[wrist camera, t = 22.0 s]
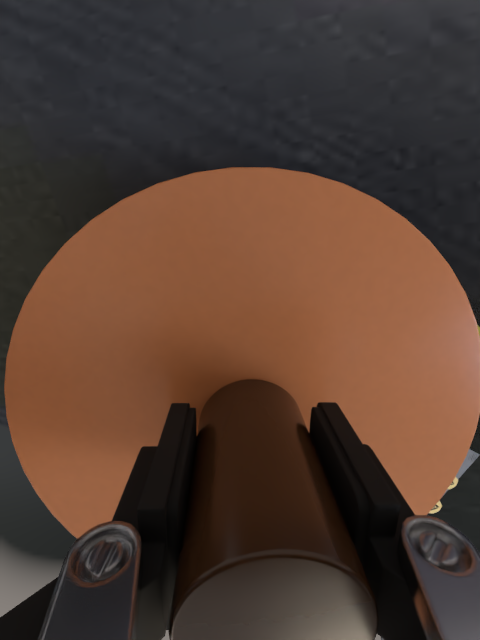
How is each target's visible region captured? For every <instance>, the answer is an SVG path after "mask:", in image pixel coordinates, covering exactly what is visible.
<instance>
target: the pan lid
mask: <svg viewBox="0 0 480 640" xmlns="http://www.w3.org/2000/svg"><path fill="white" fill-rule="evenodd" d="M4 390H5V403H6V415H7V420H8V425H9V429H10V433H11V437H12V441H13V445H14V448H15V450H16V453H17V455H18V458H19V460H20V463H21V466H22V468H23V470H24V472H25V474H26V475H27V477H28V479H29V481H30V483H31V485H32V486H33V488H34V490H35V491H36V493H37V495H38V496H39V497H40V499H42V501H43V503H44V504H45V505H46V507H47V508H48V509H49V511H50V512H51V513H52V514H53V516H54V517H55V518H56V519H57V520H58V521H59V522H60V523H61V524H62V525H63V526H64V527H65V528H66V529H67V530H68V531H69V532H70V533H71V534H72V535H74V536H75V537H76V538H77V539H78V538H79V537H80V536H81V535H83V534H84V533H85V532H86V531H88V530H89V529H91V528H93V527H95V526H97V525H99V524H102V523H105V522H109V521H112V519H113V516H114V514H115V511H116V509H117V506H118V504H119V501H120V499H121V496H122V494H123V491H124V489H125V486H126V484H127V481H128V479H129V476H130V474H131V471H132V469H133V466H134V464H135V461H136V459H137V456H138V454H139V451H140V449H141V448H142V447H143V446H158V443H159V440H160V437H161V434H162V431H163V428H164V425H165V421H166V418H167V415H168V412H169V409H170V406H171V404H172V403H189V404H190V408H196V430H197V438H196V445H195V452H194V458H193V465H192V472H191V478H190V485H189V492H188V498H187V505H186V512H185V518H184V525H183V532H182V538H181V545H180V552H179V559H178V565H177V572H176V579H175V585H174V592H173V599H172V605H171V612H170V619H169V639H170V640H375V637H376V634H377V630H378V624H379V622H378V606H377V601H376V598H375V596H374V593H373V591H372V588H371V586H370V583H369V581H368V578H367V576H366V573H365V571H364V568H363V566H362V563H361V561H360V558H359V556H358V553H357V551H356V548H355V546H354V543H353V541H352V538H351V536H350V533H349V531H348V528H347V526H346V524H345V521H344V519H343V516H342V514H341V511H340V509H339V506H338V504H337V501H336V499H335V496H334V494H333V491H332V489H331V486H330V484H329V481H328V479H327V476H326V474H325V471H324V469H323V466H322V464H321V461H320V459H319V456H318V454H317V451H316V449H315V447H314V444H313V442H312V439H311V437H310V434H309V429H310V417H311V409H312V407H317V404H318V403H319V402H336V403H337V404H338V406H339V407H340V409H341V410H342V412H343V414H344V415H345V417H346V418H347V420H348V421H349V423H350V425H351V426H352V428H353V429H354V431H355V433H356V434H357V436H358V437H359V439H360V440H361V442H362V444H367V445H369V446H370V447H371V449H372V450H373V452H374V453H375V455H376V456H377V458H378V459H379V461H380V462H381V464H382V465H383V467H384V468H385V470H386V471H387V473H388V474H389V476H390V477H391V479H392V480H393V482H394V483H395V485H396V487H397V488H398V490H399V491H400V493H401V494H402V496H403V497H404V499H405V500H406V502H407V503H408V505H409V506H410V508H411V509H412V511H413V512H414V514H415V515H427V514H428V513H429V512H430V511H431V509H432V508H433V507H434V506H435V505H436V504H437V503H438V502H439V500H440V499H441V497H442V496H443V495H444V493H445V492H446V490H447V489H448V487H449V486H450V484H451V483H452V482H453V480H454V479H455V477H456V475H457V473H458V471H459V469H460V467H461V465H462V463H463V462H464V460H465V458H466V456H467V453H468V450H469V448H470V445H471V443H472V440H473V437H474V435H475V432H476V428H477V424H478V419H479V415H480V336H479V331H478V326H477V322H476V319H475V316H474V314H473V311H472V308H471V306H470V303H469V300H468V298H467V295H466V293H465V291H464V289H463V288H462V286H461V284H460V282H459V281H458V279H457V277H456V275H455V274H454V272H453V270H452V268H451V267H450V265H449V264H448V263H447V261H446V260H445V259H444V258H443V256H442V255H441V254H440V253H439V251H438V250H437V249H436V248H435V246H434V245H433V244H432V243H431V241H430V240H429V239H427V238H426V237H425V236H424V235H423V234H422V233H421V232H420V231H419V230H418V229H417V228H415V227H414V226H413V225H412V224H411V223H410V222H409V221H408V220H407V219H406V218H404V217H403V216H401V215H400V214H398V213H397V212H395V211H394V210H392V209H391V208H389V207H388V206H386V205H385V204H383V203H382V202H380V201H379V200H377V199H376V198H374V197H371V196H369V195H367V194H365V193H363V192H361V191H359V190H357V189H354V188H352V187H350V186H348V185H346V184H344V183H340V182H337V181H334V180H330V179H327V178H324V177H320V176H317V175H314V174H310V173H306V172H299V171H292V170H286V169H279V168H272V167H230V168H223V169H216V170H209V171H202V172H195V173H191V174H188V175H184V176H181V177H178V178H174V179H171V180H167V181H164V182H161V183H157V184H155V185H153V186H151V187H148V188H146V189H144V190H142V191H140V192H137V193H135V194H133V195H131V196H129V197H127V198H124V199H122V200H121V201H119V202H118V203H116V204H115V205H113V206H112V207H110V208H109V209H107V210H105V211H104V212H102V213H101V214H99V215H98V216H96V217H95V218H93V219H92V220H91V221H89V222H88V223H87V224H86V225H85V226H84V227H83V228H82V229H80V230H79V231H78V232H77V233H76V234H75V235H74V236H72V237H71V238H70V239H69V240H68V241H67V242H66V243H65V244H64V245H63V246H62V247H61V249H60V250H59V251H58V252H57V253H56V255H55V256H54V257H53V258H52V259H51V261H50V262H49V263H48V264H47V265H46V267H45V268H44V269H43V270H42V272H41V274H40V275H39V277H38V279H37V280H36V282H35V284H34V285H33V287H32V289H31V290H30V292H29V294H28V295H27V297H26V299H25V301H24V304H23V306H22V309H21V311H20V314H19V316H18V318H17V321H16V323H15V326H14V328H13V333H12V337H11V341H10V346H9V350H8V354H7V358H6V372H5V386H4Z"/></svg>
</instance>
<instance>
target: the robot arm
mask: <svg viewBox="0 0 480 640" xmlns="http://www.w3.org/2000/svg"><path fill="white" fill-rule="evenodd" d="M309 434H310V437H311V439H312V442H313V444H314V447H315V449H316V451H317V454H318V456H319V459H320V461H321V464H322V466H323V469H324V471H325V474H326V476H327V479H328V481H329V484H330V486H331V489H332V491H333V494H334V496H335V499H336V501H337V504H338V506H339V509H340V511H341V514H342V516H343V519H344V521H345V524H346V526H347V528H348V531H349V533H350V536H351V538H352V541H353V543H354V546H355V548H356V551H357V553H358V556H359V558H360V561H361V563H362V566H363V568H364V571H365V573H366V576H367V578H368V581H369V583H370V586H371V588H372V591H373V593H374V596H375V598H376V601H377V606H378V622H379V624H378V630H377V634H378V635H380V636H381V640H480V554H479V552H478V551H477V549H476V548H475V547H474V545H473V544H472V543H471V541H470V540H469V539H468V538H467V537H466V536H465V535H464V534H462V533H461V532H460V531H459V530H458V529H456V528H455V527H453V526H452V525H450V524H448V523H447V522H445V521H442V520H440V519H438V518H435V517H431V516H427V515H415V514H414V512H413V511H412V509H411V508H410V506H409V505H408V503H407V502H406V500H405V499H404V497H403V496H402V494H401V493H400V491H399V490H398V488H397V487H396V485H395V483H394V482H393V480H392V479H391V477H390V476H389V474H388V473H387V471H386V470H385V468H384V467H383V465H382V464H381V462H380V461H379V459H378V458H377V456H376V455H375V453H374V452H373V450H372V449H371V447H370V446H369V445H367V444H362V442H361V440H360V439H359V437H358V436H357V434H356V433H355V431H354V429H353V428H352V426H351V425H350V423H349V421H348V420H347V418H346V417H345V415H344V414H343V412H342V410H341V409H340V407H339V406H338V404H337V403H336V402H319V403H318V404H317V407H312V409H311V417H310V429H309ZM196 438H197V430H196V408H190V404H189V403H172V404H171V406H170V409H169V412H168V415H167V418H166V421H165V425H164V428H163V431H162V434H161V437H160V440H159V443H158V446H143V447H142V448H141V449H140V451H139V454H138V456H137V459H136V461H135V464H134V466H133V469H132V471H131V474H130V476H129V479H128V481H127V484H126V486H125V489H124V491H123V494H122V496H121V499H120V501H119V504H118V506H117V509H116V511H115V514H114V516H113V519H112V521H109V522H105V523H102V524H99V525H97V526H95V527H93V528H91V529H89V530H88V531H86V532H85V533H84V534H83V535H81V536H80V537H79V538H78V539H77V540H76V541H75V543H74V544H73V545H72V546H71V547H70V549H69V551H68V553H67V555H66V557H65V559H64V562H63V565H62V568H61V571H60V574H59V577H57V578H56V579H55V580H53V581H52V582H50V583H49V584H47V585H46V586H45V587H43V588H42V589H40V590H39V591H38V592H36V593H35V594H33V595H32V596H30V597H29V598H27V599H26V600H25V601H23V602H22V603H20V604H19V605H17V606H16V607H15V608H13V609H12V610H10V611H9V612H8V613H6V614H5V615H3V616H2V617H0V640H161V639H162V638H163V637H164V636H165V632H166V630H169V619H170V612H171V605H172V599H173V592H174V585H175V579H176V572H177V565H178V559H179V552H180V545H181V538H182V532H183V525H184V518H185V512H186V505H187V498H188V492H189V485H190V478H191V472H192V465H193V458H194V452H195V445H196Z"/></svg>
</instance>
